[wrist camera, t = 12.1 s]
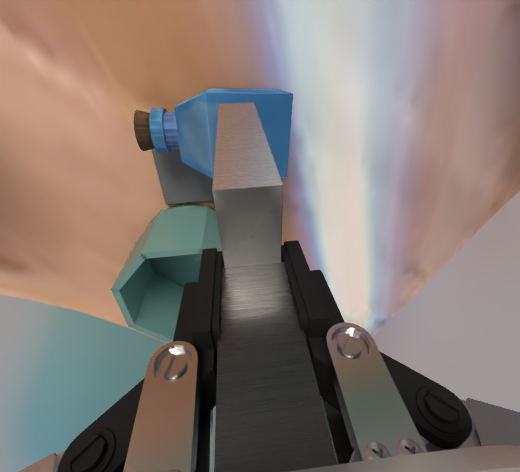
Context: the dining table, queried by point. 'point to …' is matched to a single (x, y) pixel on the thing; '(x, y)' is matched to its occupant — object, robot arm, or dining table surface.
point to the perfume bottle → (214, 125)
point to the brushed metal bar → (259, 317)
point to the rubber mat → (181, 179)
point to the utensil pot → (165, 267)
